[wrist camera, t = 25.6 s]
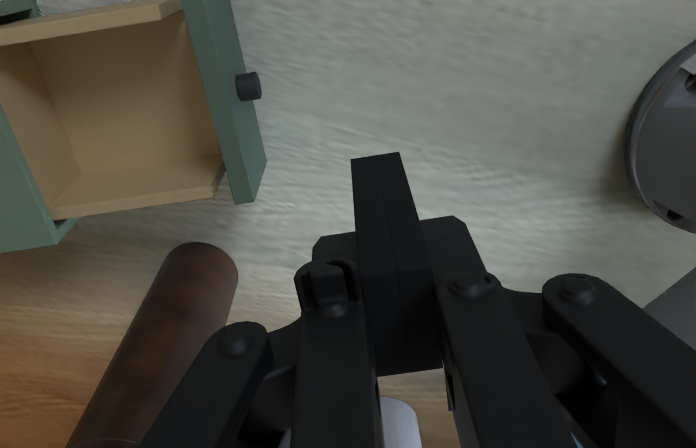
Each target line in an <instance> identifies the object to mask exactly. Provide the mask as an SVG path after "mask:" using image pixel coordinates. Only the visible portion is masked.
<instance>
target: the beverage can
mask: <svg viewBox="0 0 696 448" xmlns="http://www.w3.org/2000/svg"><path fill="white" fill-rule="evenodd" d="M380 401H381V411H382V421H383V430H384V440H385V448H422V445H421V439H420V433H419V428H418V422H417V417H416V414H415V412H414V410H413V409H412V408H411V407H410V406H409V405H408V404H407V403H405V402H403V401H401V400H399V399H395V398H391V397H380Z"/></svg>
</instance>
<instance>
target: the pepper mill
mask: <svg viewBox="0 0 696 448" xmlns="http://www.w3.org/2000/svg"><path fill="white" fill-rule="evenodd" d="M237 283H238V272H237V268H236V266H235V264H234V262H233V260H232V259H231V258H230V257H229V256H228V255H227V254H226V253H225V252H224V251H222V250H221V249H219V248H217V247H215V246H213V245H210V244H206V243H200V242H193V243H186V244H183V245H180V246H178V247H176V248H175V249H173V250H172V251H171V252H170V253H169V254H168V255H167V257H166V259H165V260H164V262H163V264H162V266H161V268H160V270H159V272H158V274H157V275H156V277H155V279H154V281H153V283H152V285H151V287H150V289H149V291H148V292H147V294H146V296H145V298H144V300H143V302H142V304H141V306H140V307H139V309H138V311H137V313H136V315H135V317H134V319H133V321H132V322H131V324H130V326H129V328H128V330H127V332H126V334H125V336H124V338H123V339H122V341H121V343H120V345H119V347H118V349H117V351H116V353H115V354H114V356H113V358H112V360H111V362H110V364H109V366H108V368H107V369H106V371H105V373H104V375H103V377H102V379H101V381H100V383H99V384H98V386H97V388H96V390H95V392H94V394H93V396H92V398H91V400H90V401H89V403H88V405H87V407H86V409H85V411H84V413H83V415H82V416H81V418H80V420H79V422H78V424H77V426H76V428H75V430H74V431H73V433H72V435H71V437H70V439H69V441H68V443H67V445H66V447H65V448H137V447H138V446H139V444H140V443H141V441H142V440H143V438H144V436H145V435H146V433H147V432H148V430H149V429H150V427H151V426H152V424H153V423H154V421H155V419H156V418H157V416H158V415H159V413H160V412H161V410H162V409H163V407H164V406H165V404H166V402H167V401H168V399H169V398H170V396H171V395H172V393H173V392H174V390H175V389H176V387H177V385H178V384H179V382H180V381H181V379H182V378H183V376H184V375H185V373H186V372H187V370H188V368H189V367H190V365H191V364H192V362H193V361H194V359H195V358H196V356H197V355H198V353H199V351H200V350H201V348H202V347H203V345H204V344H205V342H206V341H207V340H208V339H209V338H210V336H211V335H212V334H213V333H215V332H216V331H218V330H220V329H221V328H223V327H225V325H226V322H227V318H228V315H229V311H230V308H231V304H232V301H233V297H234V294H235V290H236V287H237Z"/></svg>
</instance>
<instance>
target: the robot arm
mask: <svg viewBox="0 0 696 448" xmlns="http://www.w3.org/2000/svg"><path fill="white" fill-rule="evenodd" d="M624 157H625V166H626V172H627V175H628V178H629V181H630V183H631V186H632V188H633V190H634V191H635V193H636V194H637V196H638V197H639V198H640V199H641V201H642V202H643V203H644V204H645V205H646V206H647V207H648V208H650V209H651V210H652V211H653V212H654V213H655V214H657V215H658V216H659V217H660V218H662V219H663V220H664V221H666V222H667V223H669V224H671V225H673V226H675V227H677V228H680V229H682V230H685V231H688V232H691V233H694V234H696V40H695V41H693V42H692V43H690V44H689V45H688V46H686V47H685V48H683V49H682V50H681V51H680V52H679V53H677V54H676V55H675V56H674V57H673V58H672V59H671V60H670V61H669V62H667V63H666V64H665V65H664V66H663V68H662V69H661V70H660V71H659V72H658V73H657V74H656V76H655V77H654V78H653V79H652V81H651V82H650V83H649V85H648V86H647V88H646V89H645V91H644V92H643V94H642V96H641V97H640V99H639V101H638V103H637V105H636V107H635V109H634V112H633V114H632V116H631V119H630V122H629V125H628V129H627V134H626V139H625V151H624ZM351 172H352V186H353V201H354V216H355V230H356V231H355V232H348V233H342V234H335V235H328V236H321V237H320V239H319V240H318V241H317V243H316V244H315V245H314V246H313V250H312V261H311V262H309V263H307V264H305V265H303V266H302V267H301V268H300V269H299V270H298V271H297V272H296V274H295V276H294V282H295V287H296V291H297V295H298V299H299V303H300V307H301V317H300V318H298V319H297V320H296V321H294V322H293V323H291V324H289V325H287V326H285V327H283V328H280V329H278V330H275V331H272V332H269V333H267V331H266V329H265V327H264V326H262V325H260V324H259V323H256V322H250V321H245V322H236V323H233V324H230V325H227V326H225V327H223V328H221V329H220V330H218V331H216V332H215V333H213V334H212V335H211V336H210V338H209V339H208V340H207V341H206V342H205V344H204V345H203V347H202V348H201V350H200V351H199V353H198V355H197V356H196V358H195V359H194V361H193V362H192V364H191V365H190V367H189V368H188V370H187V372H186V373H185V375H184V376H183V378H182V379H181V381H180V382H179V384H178V385H177V387H176V389H175V390H174V392H173V393H172V395H171V396H170V398H169V399H168V401H167V402H166V404H165V406H164V407H163V409H162V410H161V412H160V413H159V415H158V416H157V418H156V419H155V421H154V423H153V424H152V426H151V427H150V429H149V430H148V432H147V433H146V435H145V436H144V438H143V440H142V441H141V443H140V444H139V446H138V447H137V448H289V446H290V448H385V440H384V430H383V421H382V411H381V401H380V392H379V387H378V381H377V377H380V376H388V375H395V374H403V373H410V372H417V371H425V370H432V369H440V368H443V364H444V370H445V380H446V390H447V400H448V410H449V411H451V410H452V412H453V416H454V420H455V424H456V428H457V433H458V437H459V441H460V445H461V448H696V267H695V268H694V269H693V270H691V271H690V272H689V273H688V274H686V275H685V276H684V277H682V278H681V279H680V280H679V281H677V282H676V283H675V284H673V285H672V286H671V287H670V288H668V289H667V290H666V291H665V292H663V293H662V294H661V295H659V296H658V297H657V298H656V299H654V300H653V301H652V302H650V303H649V304H648V305H647V306H645V307H644V308H643V309H641V308H640V307H638V306H637V305H636V304H634V303H633V302H632V301H630V300H629V299H628V298H627V297H625V296H624V295H623V294H621V293H620V292H619V291H617V290H616V289H615V288H614V287H612V286H611V285H610V284H608V283H607V282H605V281H603V280H601V279H599V278H598V277H594V276H590V275H586V274H578V273H577V274H576V273H569V274H563V275H558V276H555V277H553V278H551V279H549V280H548V281H547V282H546V283H545V284H544V285H543V287H542V293H530V292H519V291H513V290H510V289H506V288H504V287H502V285H501V283H500V281H499V280H498V279H497V278H496V277H495V276H494V275H492V274H490V273H488V272H487V271H486V269H485V266H484V264H483V262H482V260H481V258H480V255H479V253H478V251H477V249H476V246H475V244H474V242H473V240H472V238H471V236H470V233H469V231H468V229H467V226H466V224H465V223H464V222H462V221H461V220H459V219H458V218H456V217H455V216H446V217H439V218H433V219H426V220H419V218H418V214H417V211H416V208H415V204H414V201H413V197H412V194H411V191H410V187H409V184H408V180H407V177H406V174H405V170H404V167H403V163H402V160H401V157H400V153H399V152H394V153H388V154H381V155H375V156H368V157H362V158H356V159H351ZM442 360H443V362H442Z"/></svg>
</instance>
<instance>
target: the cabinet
mask: <svg viewBox="0 0 696 448" xmlns="http://www.w3.org/2000/svg"><path fill="white" fill-rule="evenodd" d="M37 17H41V15H40V12H39V9H38V7H37V4H36V2H35V0H5V1H0V25H2V24H6V23H10V22H14V21H19V20H25V19H31V18H37ZM80 218H81V217H75V218H68V219H61V220H54V221H53V220H52V218H51V216H50V213H49V211H48V209H47V207H46V204H45V202H44V200H43V198H42V195H41V193H40V191H39V189H38V186H37V184H36V182H35V180H34V177H33V175H32V173H31V171H30V168H29V166H28V164H27V162H26V159H25V157H24V155H23V153H22V150H21V148H20V146H19V144H18V141H17V139H16V137H15V135H14V132H13V130H12V128H11V126H10V123H9V121H8V119H7V117H6V114H5V112H4V110H3V108H2V105H1V103H0V253H5V252H12V251H19V250H26V249H33V248H40V247H47V246H54V245H57V244H58V243H59V242H60V241H61V239H62V238H63V237H64V236H65V235H66V234H67V233H68V232H69V231H70V229H71V228H72V227H73V226H74V225H75V224H76V223H77V222H78V221H79V220H80Z"/></svg>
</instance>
